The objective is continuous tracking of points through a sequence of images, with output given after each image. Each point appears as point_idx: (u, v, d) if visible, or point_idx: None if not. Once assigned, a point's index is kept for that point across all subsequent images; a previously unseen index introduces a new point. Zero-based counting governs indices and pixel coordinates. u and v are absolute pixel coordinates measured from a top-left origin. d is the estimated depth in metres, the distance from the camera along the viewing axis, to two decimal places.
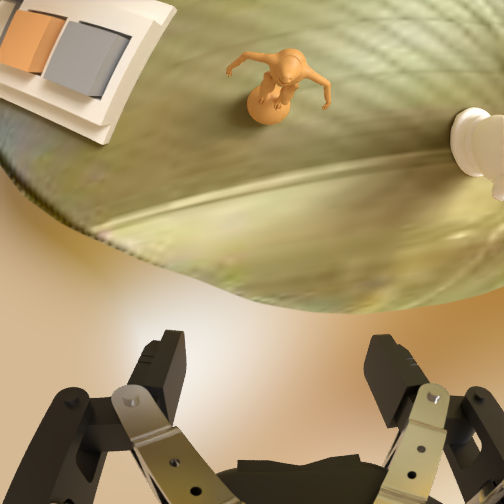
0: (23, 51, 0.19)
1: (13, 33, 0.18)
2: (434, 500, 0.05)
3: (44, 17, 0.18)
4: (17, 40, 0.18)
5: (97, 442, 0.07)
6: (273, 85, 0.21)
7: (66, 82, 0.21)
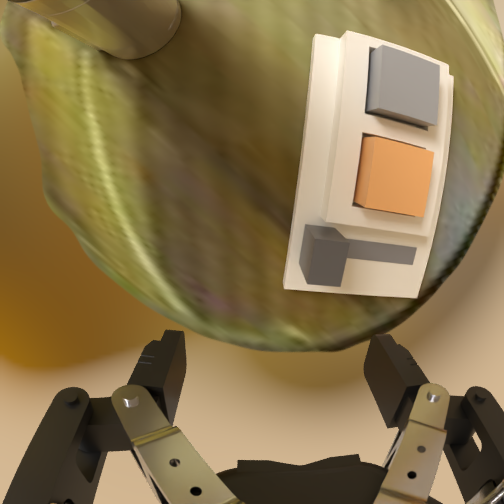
0: (415, 167, 0.23)
1: (394, 196, 0.24)
2: (434, 500, 0.05)
3: (377, 149, 0.23)
4: (403, 184, 0.24)
5: (97, 443, 0.07)
6: None
7: (435, 92, 0.21)
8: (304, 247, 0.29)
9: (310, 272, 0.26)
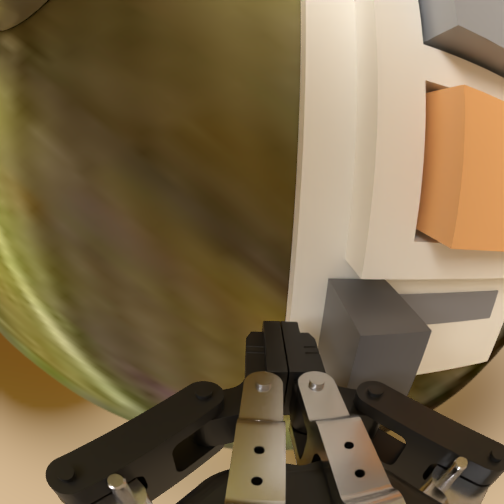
0: None
1: (501, 219, 0.09)
2: (434, 500, 0.05)
3: (470, 112, 0.08)
4: None
5: (224, 435, 0.08)
6: None
7: None
8: (329, 328, 0.14)
9: None
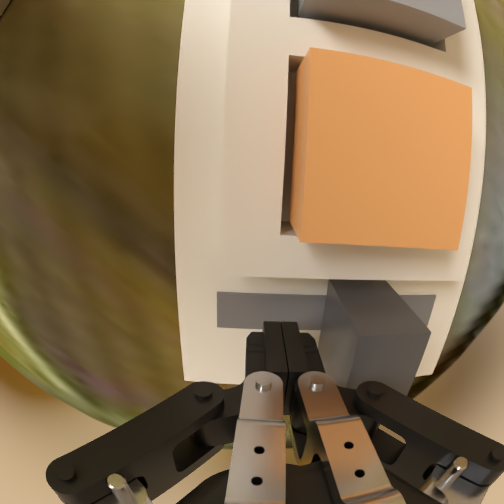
0: (431, 123, 0.08)
1: (383, 205, 0.09)
2: (434, 500, 0.05)
3: (319, 78, 0.08)
4: (406, 171, 0.09)
5: (225, 435, 0.08)
6: None
7: None
8: (329, 328, 0.14)
9: None
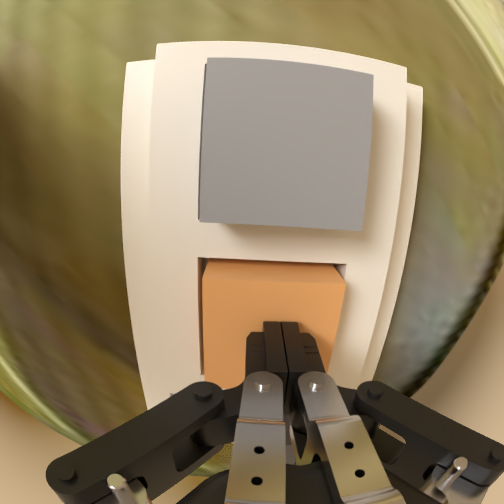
0: (298, 319, 0.13)
1: None
2: (434, 500, 0.05)
3: (209, 300, 0.13)
4: None
5: (224, 435, 0.08)
6: None
7: (360, 148, 0.10)
8: None
9: None
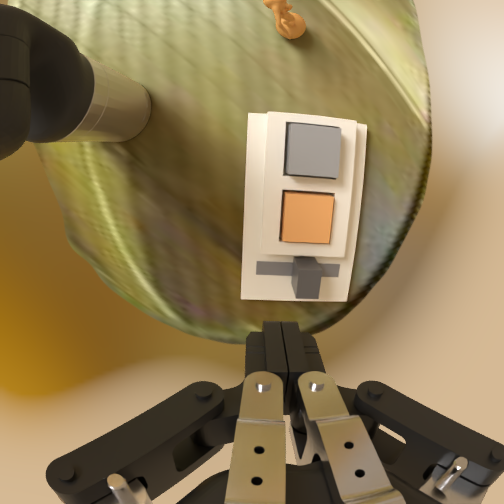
0: (318, 210, 0.38)
1: (303, 232, 0.39)
2: (434, 500, 0.05)
3: (287, 202, 0.38)
4: (310, 223, 0.39)
5: (225, 435, 0.08)
6: (285, 11, 0.28)
7: (336, 152, 0.35)
8: (293, 272, 0.42)
9: (297, 290, 0.39)
